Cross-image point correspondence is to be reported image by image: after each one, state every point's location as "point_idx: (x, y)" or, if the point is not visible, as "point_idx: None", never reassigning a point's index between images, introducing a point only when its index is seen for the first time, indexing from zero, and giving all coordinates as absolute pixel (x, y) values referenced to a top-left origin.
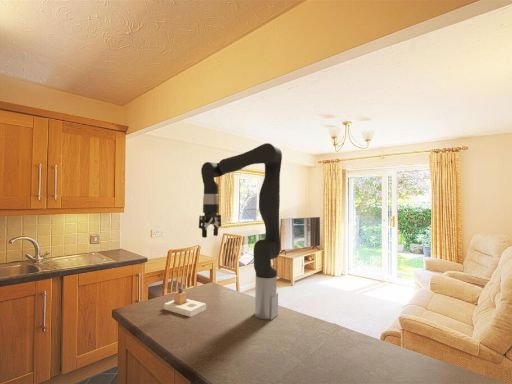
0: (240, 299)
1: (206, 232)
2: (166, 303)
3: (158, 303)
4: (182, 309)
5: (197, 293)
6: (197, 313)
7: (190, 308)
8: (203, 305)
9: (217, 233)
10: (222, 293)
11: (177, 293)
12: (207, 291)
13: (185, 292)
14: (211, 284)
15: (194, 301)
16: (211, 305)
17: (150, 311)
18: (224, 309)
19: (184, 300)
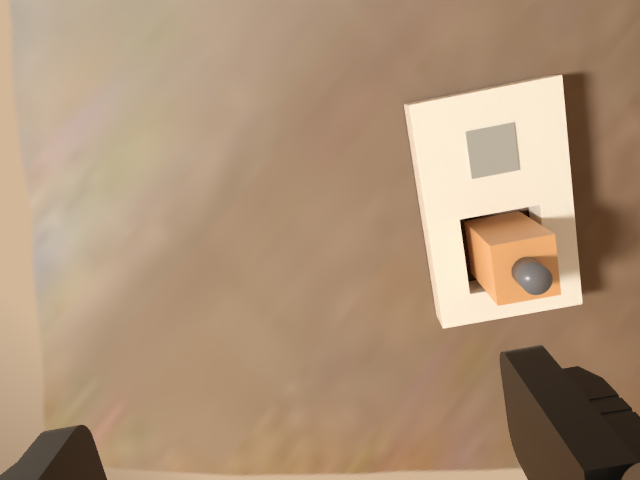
0: (110, 70)
1: (564, 411)
2: (573, 295)
3: None
4: (566, 147)
5: (254, 372)
6: (484, 88)
7: (533, 112)
8: (435, 99)
9: (34, 456)
10: (128, 254)
11: (552, 269)
12: (180, 356)
13: (501, 246)
14: None
15: (433, 196)
16: (330, 135)
17: (631, 323)
18: (317, 14)
19: (496, 228)
